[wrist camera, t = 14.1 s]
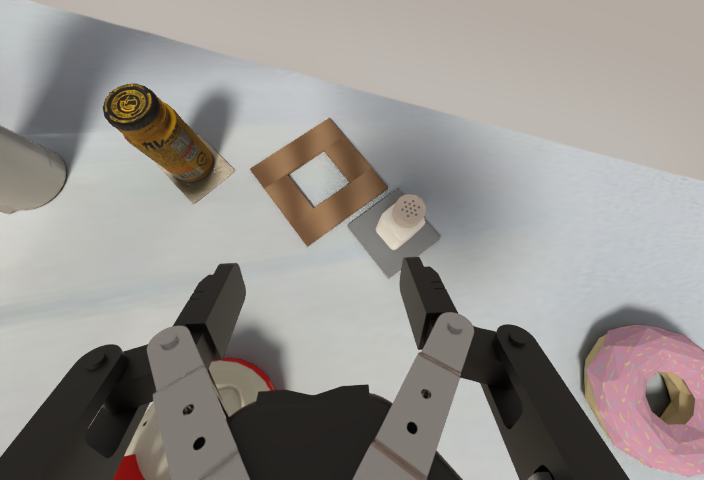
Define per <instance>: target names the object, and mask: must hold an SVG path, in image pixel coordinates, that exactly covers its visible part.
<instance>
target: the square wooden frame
mask: <svg viewBox="0 0 704 480" xmlns="http://www.w3.org/2000/svg"><path fill="white" fill-rule="evenodd" d="M322 152H325V153H326V154H327V155H328V157H329V158H330V159H331V160H332V161H333V163H334V164H335V165H336V166H337V168H338V169H339V170H340V171H341V172H342V174H343V175H344V176H345V177H346V179H347V180H348V181H349V182H350V183H349V184H348V185H346V186H345V187H344V188H342V189H341V190H339V191H338V192H336V193H335V194H334V195H332V196H331V197H329V198H328V199H326V200H325V201H324V202H322V203H321V204H319V205H318V206H316V207H315V208H314V209H313V207H312V206H311V205H310V203H309V202H308V201H307V200H306V198H305V197H304V196H303V194H302V193H301V192H300V190H299V189H298V188H297V187H296V185H295V184H294V183H293V181H292V180H291V179H290V178H289V176H288V175H289V174H291V173H292V172H294V171H295V170H297V169H298V168H300V167H301V166H303V165H304V164H306V163H307V162H309V161H310V160H312V159H313V158H315V157H316V156H318V155H319V154H321V153H322ZM250 170H251V171H252V173H253V174H254V175H255V177H256V178H257V179H258V181H259V182H260V183H261V185H262V186H263V187H264V189H265V190H266V192H267V193H268V194H269V196H270V197H271V198H272V200H273V201H274V202H275V204H276V205H277V206H278V208H279V209H280V210H281V212H282V213H283V214H284V216H285V217H286V218H287V220H288V221H289V223H290V224H291V225H292V227H293V228H294V229H295V231H296V232H297V233H298V235H299V236H300V237H301V239H302V240H303V241H304V243H305V244H306V245H307V247H308V246H309V245H311V244H312V243H313V242H315V241H316V240H317V239H319V238H320V237H322V236H323V235H324V234H326V233H327V232H328V231H330V230H331V229H333V228H334V227H335V226H337V225H338V224H340V223H341V222H342V221H344V220H345V219H346V218H348V217H349V216H351V215H352V214H353V213H355V212H356V211H358V210H359V209H360V208H362V207H363V206H364V205H366V204H367V203H369V202H370V201H371V200H373V199H374V198H376V197H377V196H378V195H380V194H381V193H382V192H384V191H385V190H387V189H388V187H387V185H386V184H385V183H384V182H383V181H382V179H381V178H380V177H379V176H378V175H377V174H376V172H375V171H374V170H373V169H372V168H371V166H370V165H369V164H368V163H367V162H366V161H365V159H364V158H363V157H362V156H361V155H360V153H359V152H358V151H357V150H356V149H355V148H354V146H353V145H352V144H351V143H350V142H349V140H348V139H347V138H346V137H345V136H344V135H343V133H342V132H341V131H340V130H339V129H338V128H337V126H336V125H335V124H334V123H333V122H332V120H331V119H330V118H328V119H327V120H325V121H324V122H322V123H321V124H319V125H318V126H316V127H314V128H313V129H311V130H310V131H308V132H307V133H305V134H304V135H302V136H300V137H299V138H297V139H296V140H294V141H293V142H291V143H290V144H288V145H286V146H285V147H283V148H282V149H280V150H279V151H277V152H276V153H274V154H272V155H271V156H269V157H268V158H266V159H265V160H263V161H262V162H260V163H258V164H257V165H255V166H254V167H252V168H251V169H250Z"/></svg>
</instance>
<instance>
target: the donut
mask: <svg viewBox="0 0 704 480" xmlns="http://www.w3.org/2000/svg"><path fill="white" fill-rule="evenodd" d="M656 372H659V373H660V374H661V375H662V376H663V378H664V381H665V384H666V387H667V390H668V393H669V396H670V399H671V402H670V403H669V405H668V407H667V408H666V410H665V411H664V413H663V414H662V415H661V417H660V418H659V417H658V416H657V415H655V414H654V413H653V412H652V411H651V409H650V406H649V404H648V401H647V398H646V396H645V393H646V385H647V381H648V380H649V379H650V378H651V377H652V376H653V375H654V374H655V373H656ZM584 382H585V398H586V400H587V402H588V404H589V405H590V407H591V409H592V411H593V412H594V414H595V416H596V418H597V419H598V421H599V423H600V425H601V426H602V428H603V430H604V432H605V433H606V435H607V436H608V437H609V438H610V439H611V442H612V444H613V445H614V446H615V447H617V448H619V449H620V450H622V451H624V452H625V453H627V454H629V455H630V456H632V457H634V458H635V459H637V460H639V461H640V462H641V463H643V464H644V465H647V466H649V467H650V468H655V469H660V470H664V471H668V472H671V473H675V474H679V475H683V476H687V477H690V476H695V475H700V474H704V350H703V349H702V348H700V347H699V346H698V345H696V344H695V343H694V342H692V341H691V340H690V339H689V338H687V337H686V336H684V335H681V334H678V333H675V332H671V331H668V330H665V329H662V328H658V327H655V326H646V325H637V324H635V325H630V326H625V327H620V328H617V329H613V330H608V332H607V334H606V335H604V336H602V337H600V338H599V339H598V341H597V342H596V344H595V345H594V347H593V348H592V350H591V352H590V353H589V355H588V356H587V358H586V360H585V367H584Z"/></svg>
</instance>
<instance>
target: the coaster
mask: <svg viewBox="0 0 704 480" xmlns="http://www.w3.org/2000/svg"><path fill="white" fill-rule="evenodd" d="M401 196H404V194H403V193H402V192H401V191H400V190H399V189H397V190H395V191H394V192H392V193H391V194H390V195H388V196H387V197H386V198H384V199H383V200H381V201H380V202H379V203H377V204H376V205H375V206H373V207H372V208H371V209H369V210H368V211H366V212H365V213H364V214H362V215H361V216H360V217H358V218H357V219H355V220H354V221H353V222H351V223H350V224H349V225H347V227H348V228H349V229H350V231H351V232H352V233H353V234H354V236H355V237H356V238H357V240H358V241H359V242H360V243H361V245H362V246H363V247H364V248H365V250H366V251H367V252H368V254H369V255H370V256H371V257H372V259H373V260H374V261H375V262H376V264H377V265H378V266H379V268H380V269H381V270H382V271H383V273H384V274H385V275H386V276H387V278H388V279H389V278H390V277H392V276H393V275H394V274H395V273H397V272H398V271H399V270H401V268H402V261H403V258H404V257H417V256H418V255H420V254H421V253H422V252H423V251H425V250H426V249H427V248H428V247H430V246H431V245H432V244H433V243H435V242H436V241H437V240H439V239H440V237H439V235H438V234H437V233H436V232H435V231H434V230H433V228H432V227H431V226H430V225H429V224H428V223H427V221H426V220H425V224H424V226H423V227H422V228H421V229H420V230H419V231H418V232H417V233H415V234H414V235H413V236H412V237H411V238H410V239H409V240H407V241H406V242H405V243H404V244H403V245H401V246H400V247H399V248H398V249H396V250H392V249H390V248H389V246H388V245H387V244H386V243H385V242H384V240H383V239H382V238H381V237H380V236H379V235H378V233H377V232H376V227H377V224H378V222H379V220H380V217H381V215H382V213H384V212H385V211H386V210H387V209H388V208H390V207H391V206H392V205H394V204H395V203H396V202H397V200H398V199H399V198H400V197H401Z"/></svg>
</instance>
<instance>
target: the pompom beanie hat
mask: <svg viewBox="0 0 704 480" xmlns="http://www.w3.org/2000/svg"><path fill="white" fill-rule="evenodd" d="M209 370H210V372H211V374H212V376H213V379H214V381H215V383H216V386H217V388H218V390H219V392H220V395H221V397H222V399H223V402H224V404H225V406H226V408H227V410H228V412H229V415H230V416H231V415H232V414H233V413H235V412H236V411H237V410H239V409H240V408H242V407H244V406H246V405H248V404H250V403H252V402H254V401H256V399H257V395H258V392H259V391H275V390H276V389H275V387H274V386H273V384H272V382H271V380H270V379H269V377H268V376H267V375H266V374H265V373H264V372H262V371H261V370H260V369H259V368H258V367H257V366H255V365H253V364H251V363H249V362H247V361H244V360H242V359H233V358H223V359H222V360H215V361H212V362H211V364H210V367H209ZM113 480H171V476H170V471H169V467H168V463H167V458H166V454H165V450H164V445H163V441H162V436H161V432H160V428H159V423H158V419H157V414H156V410H155V406H154V403H153V404H152V405H151V406H150V408H149V409H148V411H147V412H146V413H145V415H144V416H143V418H142V420H141V422H140V424H139V426H138V428H137V430H136V432H135V434H134V436H133V438H132V441H131V443H130V445H129V447H128V449H127V451H126V453H125V455H124V457H123V459H122V461H121V463H120V465H119V468H118V470H117V472H116V474H115V476H114V478H113Z"/></svg>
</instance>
